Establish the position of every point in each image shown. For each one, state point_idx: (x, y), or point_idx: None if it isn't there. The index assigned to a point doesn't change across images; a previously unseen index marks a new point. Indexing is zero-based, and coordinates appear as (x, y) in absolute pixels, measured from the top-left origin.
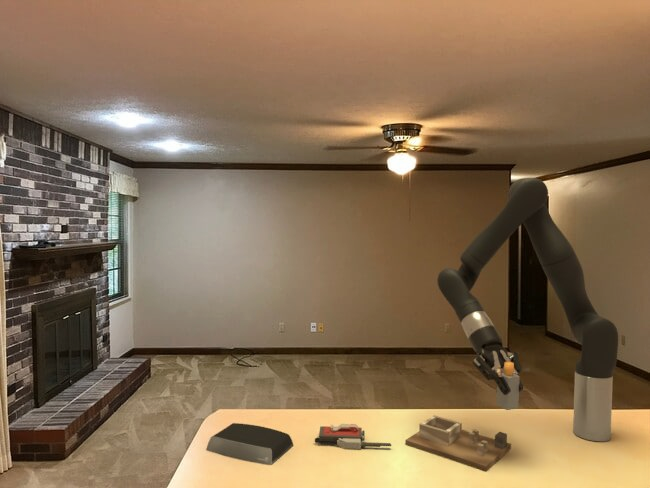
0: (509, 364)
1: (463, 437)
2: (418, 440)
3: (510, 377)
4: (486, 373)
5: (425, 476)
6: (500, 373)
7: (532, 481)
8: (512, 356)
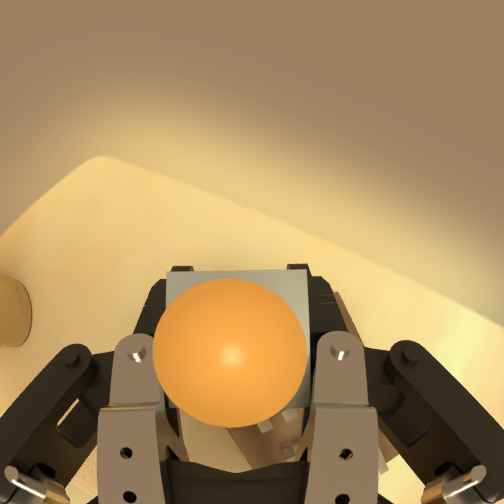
0: (278, 296)
1: (283, 436)
2: (387, 443)
3: (280, 273)
4: (401, 421)
5: (440, 317)
6: (331, 359)
7: (270, 221)
8: (21, 479)
